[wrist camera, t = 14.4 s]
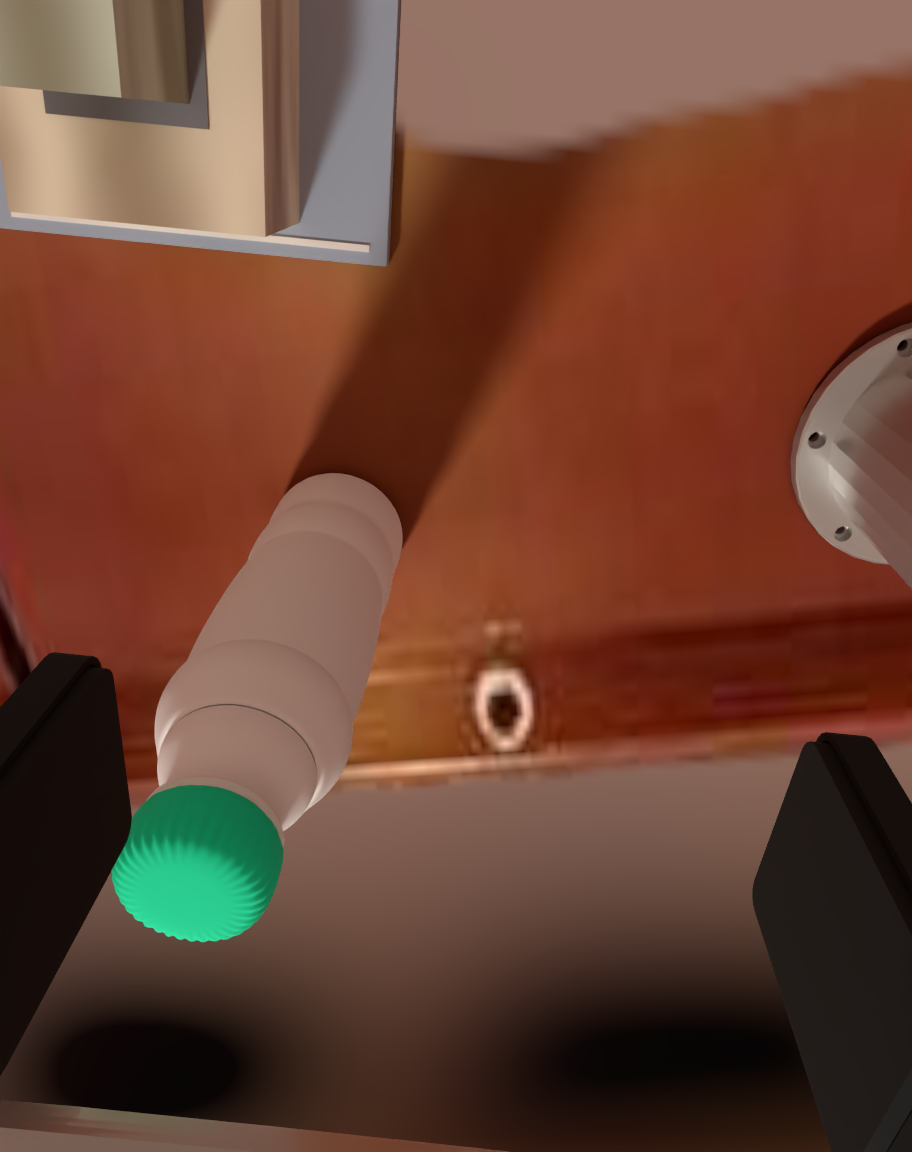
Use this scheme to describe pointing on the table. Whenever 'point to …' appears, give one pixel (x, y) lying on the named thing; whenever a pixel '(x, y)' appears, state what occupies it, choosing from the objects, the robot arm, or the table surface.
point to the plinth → (173, 135)
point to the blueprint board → (310, 147)
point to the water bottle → (261, 711)
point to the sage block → (96, 47)
